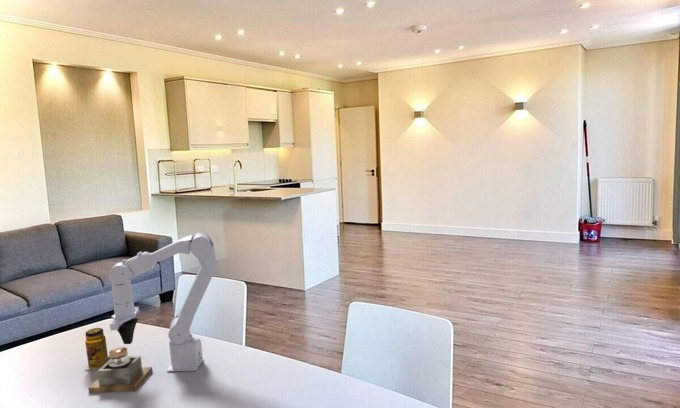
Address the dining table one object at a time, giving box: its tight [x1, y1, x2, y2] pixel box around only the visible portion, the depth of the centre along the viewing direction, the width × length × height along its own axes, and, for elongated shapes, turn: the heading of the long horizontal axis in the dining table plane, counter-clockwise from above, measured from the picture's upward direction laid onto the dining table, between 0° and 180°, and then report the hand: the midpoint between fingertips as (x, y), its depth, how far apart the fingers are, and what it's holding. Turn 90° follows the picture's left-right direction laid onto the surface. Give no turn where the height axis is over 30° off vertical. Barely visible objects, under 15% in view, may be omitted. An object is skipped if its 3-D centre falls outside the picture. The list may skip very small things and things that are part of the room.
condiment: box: [84, 327, 110, 371], centre depth 159 cm, size 7×8×12 cm
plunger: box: [108, 346, 130, 367], centre depth 145 cm, size 6×6×4 cm
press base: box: [87, 355, 153, 394], centre depth 146 cm, size 14×12×6 cm
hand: (128, 343), depth 149 cm, fingers closed
